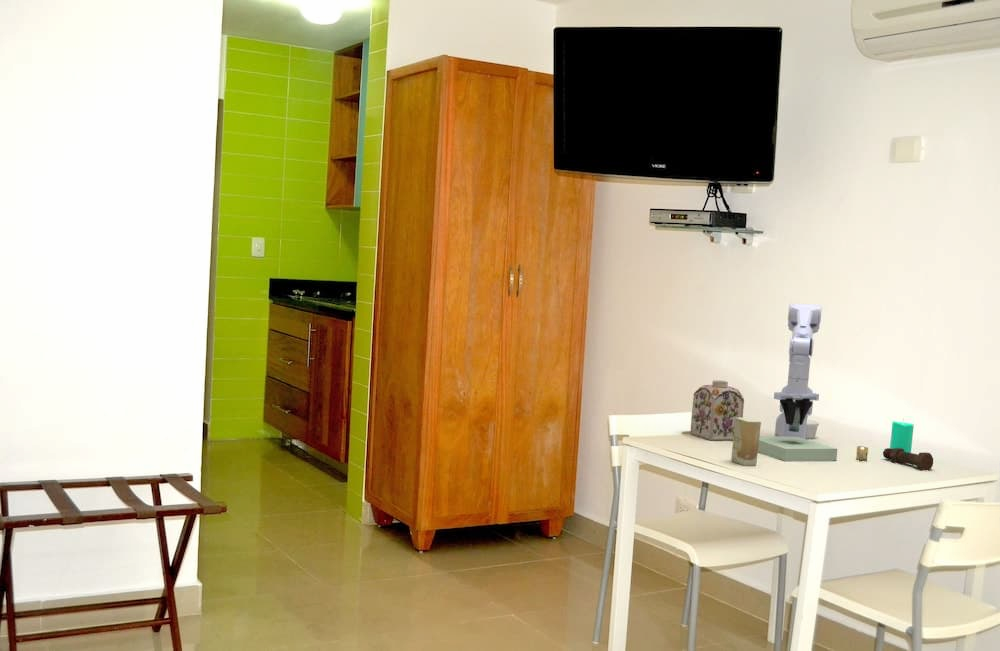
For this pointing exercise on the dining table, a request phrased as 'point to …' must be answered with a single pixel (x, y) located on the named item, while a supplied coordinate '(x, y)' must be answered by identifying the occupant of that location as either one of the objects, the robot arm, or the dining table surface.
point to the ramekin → (811, 429)
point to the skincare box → (746, 441)
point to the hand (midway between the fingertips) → (794, 424)
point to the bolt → (909, 458)
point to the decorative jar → (716, 411)
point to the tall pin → (796, 420)
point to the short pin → (862, 453)
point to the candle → (901, 436)
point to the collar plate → (796, 449)
